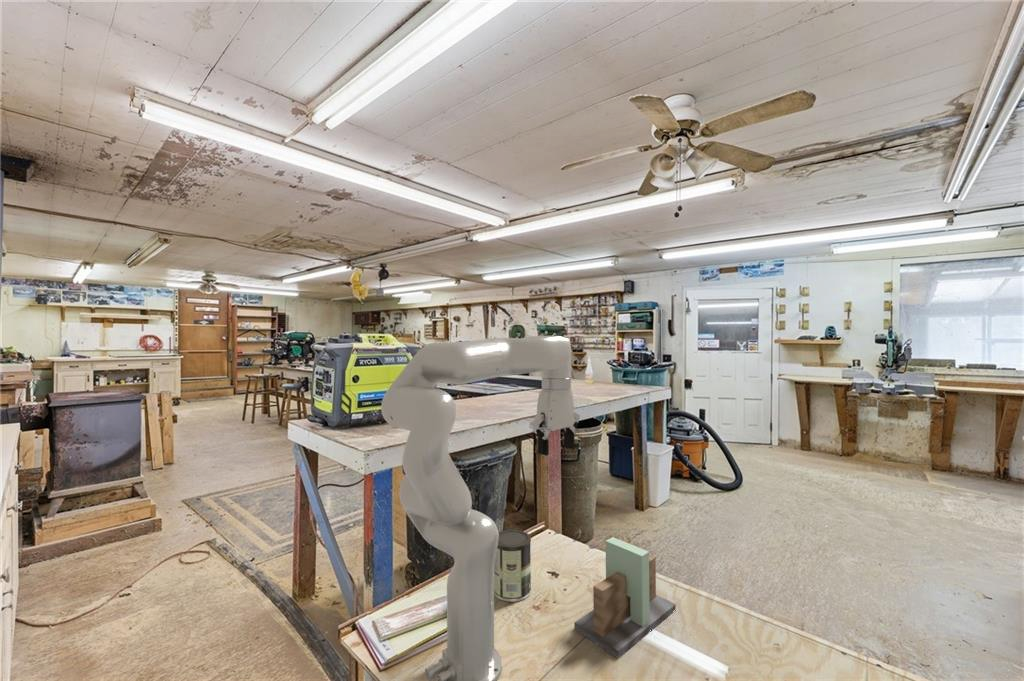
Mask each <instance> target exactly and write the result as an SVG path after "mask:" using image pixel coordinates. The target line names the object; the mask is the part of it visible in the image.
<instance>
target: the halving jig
mask: <svg viewBox="0 0 1024 681" xmlns="http://www.w3.org/2000/svg"><path fill="white" fill-rule="evenodd" d="M656 560H657V559H656V557H655V556H654V555H650V554H649V603H650V621H649V622H648V623H647V624H646V625H644V626H643V627H642V626H640V625H638V624H637V623H635V622H633V621H631V613H630V597H629V596H627V595H626V576H624V575H622V574H620V573H618V572H616V573H614V574H613V575H611V576H609V577H608V578H606V577H605V579H603V580H601V581H599V582H598V583H596V584H595V585H593V592H592V594H593V597H592V598H593V600H592V601H593V609H592V610H590V611H589V612H588V613H586V614H585V615H583V616H582V617H580V618H579V619H577V620H576V621H574V631H575V630H576V632H578V633H580V634H581V635H583V636H584V637H586V638H587V639H589V640H590V641H592V642H594V643H595V644H597V645H598V646H599V647H601V648H602V649H604V650H605V651H607V652H608V653H610V654H611V655H613V656H614V657H616V658H617V659H620V657H622V656H623V655H624V654H625V653H626V652H628V651H630V649H631V648H634V646H635V645H636V644H637V643H639V642H640V641H641V640H642V639H643V638H645V637H646V636H647V635H648V634H649V633H650V632H651V631H650V630H652V629H653V630H654V629H655V628H657V626H659V625H660V624H662V622H664V619H665V620H666V619H667V618H668V617H670V616H671V615H672V614H673V613H674V612H675V611H676V610H675V609H676V607H677V605H676V603H674V602H672V601H670V600H668V599H666V598H664V597H662V596H659V595H658V594H657V587H656V585H657V579H656V577H657V575H656V571H657V570H656V568H657V567H656ZM674 610H675V611H674ZM673 611H674V612H673ZM672 612H673V613H672ZM671 613H672V614H671ZM670 614H671V615H670ZM653 630H652V631H653ZM649 631H650V632H649ZM648 632H649V633H648Z"/></svg>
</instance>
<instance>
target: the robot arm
mask: <svg viewBox="0 0 1024 681" xmlns="http://www.w3.org/2000/svg"><path fill="white" fill-rule="evenodd" d="M571 344H572V343H571V341H570V339H569V338H567V337H564V336H561V335H534V336H533V335H532V336H524V337H523V338H520V337H493V338H486V339H475V340H466V341H454V342H453V341H451V342H450V341H449V342H430V343H428V344H426V345H424V346H423V347H421V348H420V350H419V351H418V352H416V354H414V355H413V357H412V358H411V359H410V360H409V361H408V363H407V364H406V366H405V367H404V368H403V369H402V371H401V372H400V373H399V375H398V376H397V377H396V378H395V379H394V381H393V382H392V383H391V385H390V386H389V387H388V389H387V390H386V392H385V393H384V395H383V398H382V401H381V407H380V408H381V409H380V410H381V415H382V417H383V419H384V420H385V421H386V423H388V424H389V425H390V426H392V427H394V428H397V429H401V430H406V431H409V434H408V435H407V440H406V442H405V445H404V449H403V453H402V459H401V460H402V461H401V462H402V469H403V472H404V474H405V475H404V476H403V477H402V479H401V481H400V483H399V484H400V485H399V491H398V494H399V501H400V504H401V506H402V508H403V511H404V512H405V514H406V515H407V516H408V518H409V519H410V521H411V522H412V523H413V525H414V527H415V528H416V530H417V531H418V533H419V534H420V535H421V536H422V538H423V539H424V540H425V541H426V542H427V543H428V544H429V545H431V546H432V547H434V548H436V549H437V550H440V551H442V552H444V553H445V554H447V555H449V556H450V557H452V558H453V562H454V564H453V566H452V568H451V570H450V572H449V574H448V577H447V580H446V648H444V649H443V650H442V651H441V652H442V655H441V657H440V658H438V660H437V661H438V662H436V663H433V664H432V665H430V666H428V667H426V668H425V669H424V674H425V675H424V676H425V678H426V680H427V681H431V680H432V679H434V678H435V677H437V681H498V679H499V678H500V675H501V673H502V669H503V666H502V665H503V664H502V661H503V660H502V656H501V655H500V652H498V650H497V649H496V647H495V595H494V565H495V557H496V552H497V547H498V541H499V533H498V532H499V530H498V527H497V525H496V523H495V521H494V520H493V519H492V518H491V517H489V516H488V515H486V514H484V513H483V512H481V511H478V510H475V509H472V504H473V501H472V496H471V495H472V494H471V492H470V489H469V487H468V485H467V484H466V482H465V480H464V478H463V477H462V475H461V473H460V471H459V470H458V468H457V467H456V465H455V463H454V462H453V459H452V457H451V455H450V453H449V448H448V446H449V441H450V440H449V439H450V435H451V433H452V430H453V427H454V425H455V422H456V421H455V420H456V417H457V406H456V403H455V400H454V398H453V397H452V395H451V394H449V393H448V392H446V391H445V390H443V389H440V388H436V385H437V384H449V385H466V384H469V383H475V382H480V381H485V380H490V379H494V378H495V379H496V378H501V377H509V376H517V375H518V376H519V375H522V374H529V373H541V389H540V390H539V392H538V398H537V405H536V406H537V407H536V417H535V418H534V419H533V420H532V421H531V422H530V426H531V429H532V433H533V434H534V436H535V437H536V439H537V451H538V454H539V455H543V456H545V457H547V456H549V454H550V446H549V444H550V440H549V439H548V437H549V434H550V433H551V432H553V431H560V430H563V429H564V431H563V446H564V448H566V449H569V450H574V449H575V447H576V446H575V443H576V442H575V434H576V433H577V429H578V426H579V421H580V418H581V415H580V414H578V413H577V412H575V404H574V403H575V402H574V396H573V391H572V364H571V363H572V361H571V360H572V358H571V356H572V347H571V346H572V345H571ZM439 673H440V674H439Z"/></svg>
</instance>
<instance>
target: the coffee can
mask: <svg viewBox="0 0 1024 681" xmlns="http://www.w3.org/2000/svg"><path fill="white" fill-rule="evenodd" d="M498 533H499V541H498V547H497V552H496V557H495V565H494V597H496V599H499V600H500V601H503V602H509V603H514V602H515V603H516V602H520V601H523V600H526V599H527V598H528V597H529V596H530V595H531V594H532V582H531V581H532V580H531V578H532V574H531V573H532V572H531V570H532V568H531V567H532V566H531V565H532V564H531V563H532V562H531V554H532V553H531V541H532V537H531V535H530V534H528V532H526V531H524V530H519V529H506V530H501V531H498Z"/></svg>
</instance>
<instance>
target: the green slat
mask: <svg viewBox="0 0 1024 681" xmlns="http://www.w3.org/2000/svg"><path fill="white" fill-rule="evenodd" d="M649 555H650V551H648V550H645V549H644V548H640V547H638V546H635V545H633V544H631V543H628V542H626V541H624V540H621V539H618V538H616V537H611V538H609V539H606V540H605V579H606V578H608V577H609V576H611V575H613V574H614V573H616V572H618V573H620V574H622V575H624V576H626V595H627V596H629V597H630V613H631V621H633V622H635V623H637V624H638V625H640V626H642V627H643V626H644V625H646V624H647V623H648V622H649V621H650V603H649Z"/></svg>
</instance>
